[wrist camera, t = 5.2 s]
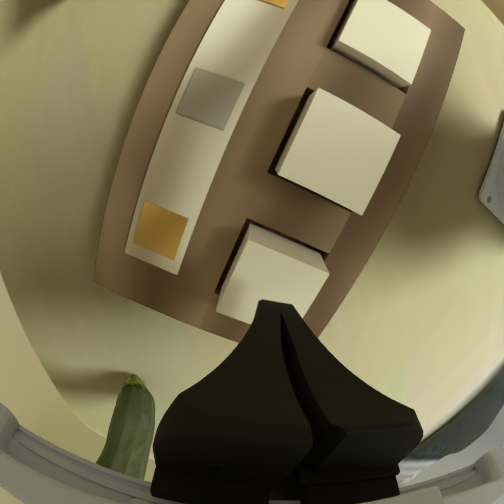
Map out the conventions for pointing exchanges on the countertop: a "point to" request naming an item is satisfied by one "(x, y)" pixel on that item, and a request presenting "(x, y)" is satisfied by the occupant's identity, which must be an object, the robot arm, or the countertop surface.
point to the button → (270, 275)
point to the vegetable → (130, 431)
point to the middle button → (337, 151)
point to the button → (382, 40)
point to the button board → (254, 153)
